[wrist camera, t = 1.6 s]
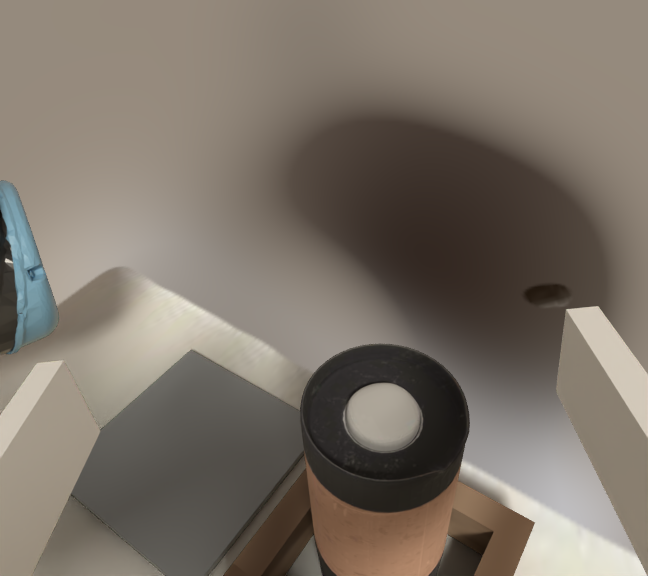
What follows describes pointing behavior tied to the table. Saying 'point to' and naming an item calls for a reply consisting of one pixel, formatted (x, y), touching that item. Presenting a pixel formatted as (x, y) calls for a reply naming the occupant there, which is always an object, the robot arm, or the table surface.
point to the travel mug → (382, 459)
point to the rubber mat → (190, 465)
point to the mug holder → (465, 526)
